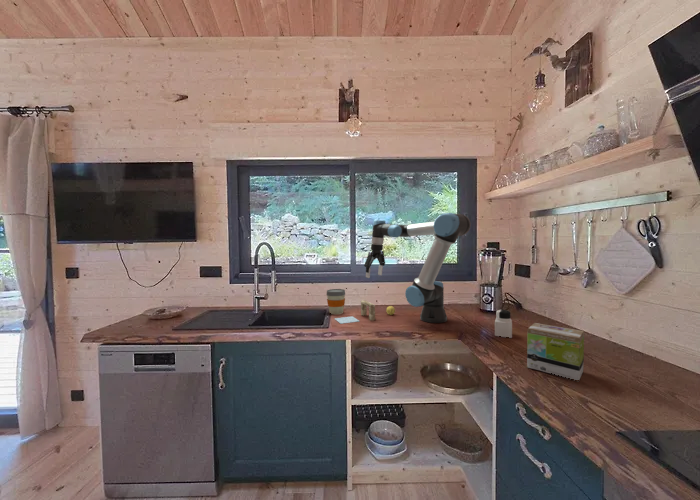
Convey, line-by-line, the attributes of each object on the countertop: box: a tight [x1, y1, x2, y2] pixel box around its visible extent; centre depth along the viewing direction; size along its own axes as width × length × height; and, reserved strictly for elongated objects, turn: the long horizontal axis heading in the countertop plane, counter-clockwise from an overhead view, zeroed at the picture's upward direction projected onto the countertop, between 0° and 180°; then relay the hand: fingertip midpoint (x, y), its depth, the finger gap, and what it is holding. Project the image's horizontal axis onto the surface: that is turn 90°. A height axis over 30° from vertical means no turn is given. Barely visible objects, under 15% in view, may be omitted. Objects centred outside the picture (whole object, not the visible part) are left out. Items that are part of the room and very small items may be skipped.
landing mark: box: [333, 316, 360, 325], centre depth 172 cm, size 12×12×1 cm
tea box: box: [526, 322, 585, 381], centre depth 100 cm, size 15×10×15 cm, turn 45°
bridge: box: [360, 300, 376, 321], centre depth 177 cm, size 3×14×9 cm, turn 21°
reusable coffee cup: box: [326, 288, 346, 315], centre depth 190 cm, size 13×13×15 cm
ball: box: [385, 305, 396, 316], centre depth 182 cm, size 6×6×6 cm
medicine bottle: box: [494, 309, 513, 339], centre depth 139 cm, size 7×7×12 cm
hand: (373, 276), depth 185 cm, fingers open, 13 cm apart
